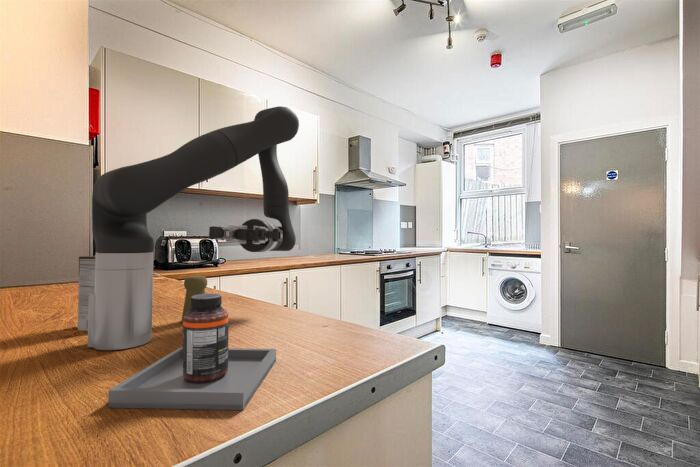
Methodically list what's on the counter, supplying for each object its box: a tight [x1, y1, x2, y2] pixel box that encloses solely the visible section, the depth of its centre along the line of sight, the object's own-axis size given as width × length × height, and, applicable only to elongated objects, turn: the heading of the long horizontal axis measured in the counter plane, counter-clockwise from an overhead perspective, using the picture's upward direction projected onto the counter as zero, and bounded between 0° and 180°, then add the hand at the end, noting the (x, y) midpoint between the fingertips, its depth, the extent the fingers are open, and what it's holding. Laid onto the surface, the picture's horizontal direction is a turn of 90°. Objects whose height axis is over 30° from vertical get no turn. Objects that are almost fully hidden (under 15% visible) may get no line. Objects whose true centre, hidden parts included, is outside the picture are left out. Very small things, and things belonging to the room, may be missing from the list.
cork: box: [180, 274, 208, 324], centre depth 82 cm, size 6×6×11 cm
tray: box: [107, 346, 277, 411], centre depth 47 cm, size 16×16×2 cm
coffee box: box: [77, 255, 95, 332], centre depth 76 cm, size 9×6×16 cm
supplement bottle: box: [182, 293, 229, 383], centre depth 48 cm, size 6×6×11 cm
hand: (234, 232), depth 64 cm, fingers open, 8 cm apart
